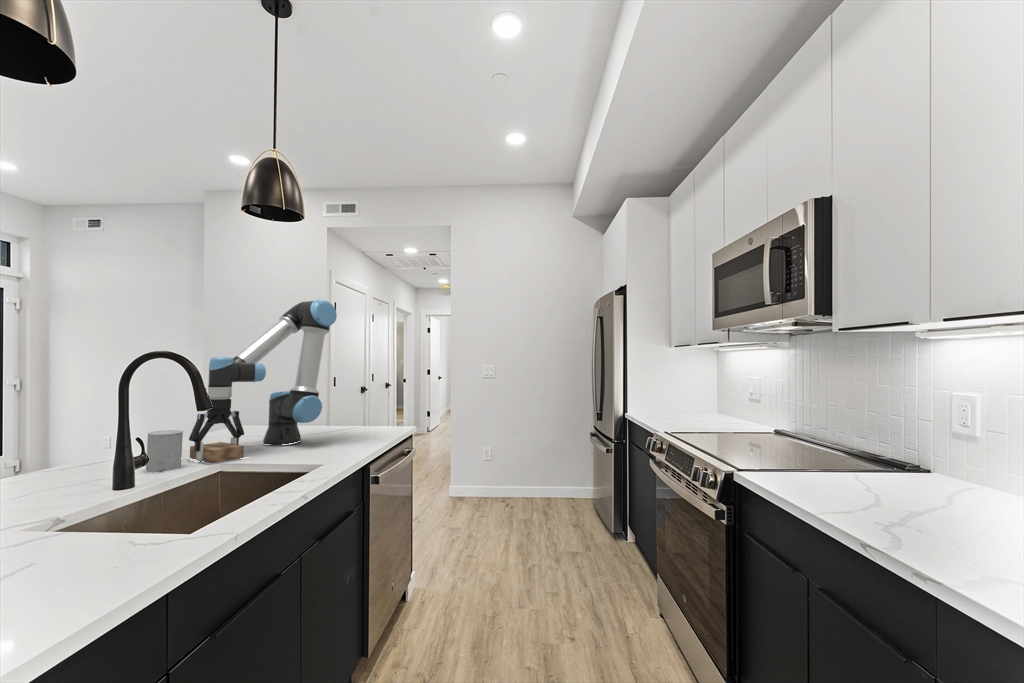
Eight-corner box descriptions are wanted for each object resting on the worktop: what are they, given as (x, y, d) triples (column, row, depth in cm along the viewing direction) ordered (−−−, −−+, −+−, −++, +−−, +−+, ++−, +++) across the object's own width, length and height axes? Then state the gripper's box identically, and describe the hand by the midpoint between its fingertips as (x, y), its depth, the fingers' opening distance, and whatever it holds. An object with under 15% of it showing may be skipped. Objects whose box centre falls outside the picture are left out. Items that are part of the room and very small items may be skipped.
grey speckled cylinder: (166, 472, 148) (168, 434, 149) (137, 472, 149) (139, 434, 149) (188, 466, 158) (189, 430, 159) (160, 465, 158) (162, 430, 159)
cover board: (220, 453, 178) (221, 442, 179) (243, 457, 171) (243, 445, 171) (189, 458, 169) (190, 446, 169) (212, 463, 162) (212, 450, 162)
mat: (223, 452, 182) (223, 451, 182) (253, 458, 172) (253, 457, 172) (178, 459, 168) (178, 458, 168) (208, 466, 158) (208, 465, 158)
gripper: (245, 396, 183) (242, 451, 182) (179, 399, 163) (175, 461, 162) (256, 397, 180) (253, 453, 178) (190, 400, 159) (187, 464, 158)
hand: (216, 457), depth 170 cm, fingers closed on mat, 11 cm apart
